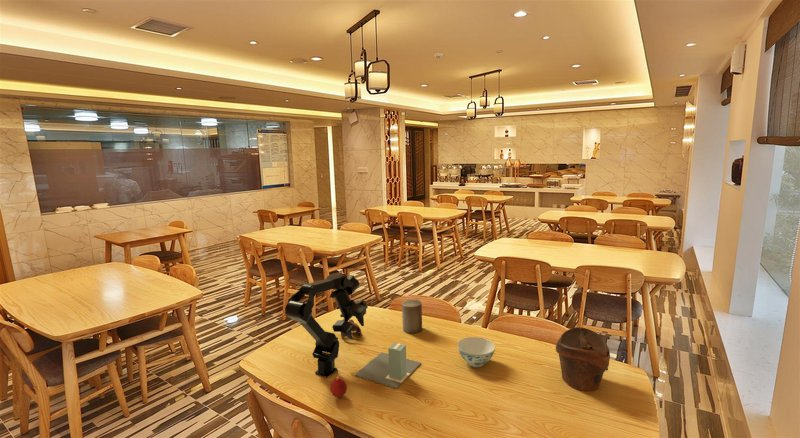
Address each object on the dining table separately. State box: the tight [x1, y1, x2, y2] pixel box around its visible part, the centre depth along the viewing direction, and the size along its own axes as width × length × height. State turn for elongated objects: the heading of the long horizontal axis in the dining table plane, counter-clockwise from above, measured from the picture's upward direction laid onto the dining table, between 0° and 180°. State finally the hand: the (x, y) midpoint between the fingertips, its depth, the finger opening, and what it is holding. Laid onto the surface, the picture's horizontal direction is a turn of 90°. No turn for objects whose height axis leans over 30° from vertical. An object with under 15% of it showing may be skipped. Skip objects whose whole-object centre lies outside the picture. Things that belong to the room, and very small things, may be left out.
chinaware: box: [457, 336, 496, 368], centre depth 162 cm, size 15×15×8 cm
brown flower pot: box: [555, 327, 611, 392], centre depth 146 cm, size 18×20×18 cm
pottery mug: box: [340, 319, 363, 338], centre depth 190 cm, size 12×10×8 cm
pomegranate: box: [329, 376, 348, 399], centre depth 140 cm, size 6×6×8 cm
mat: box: [354, 351, 422, 390], centre depth 159 cm, size 20×19×1 cm
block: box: [387, 342, 407, 380], centre depth 152 cm, size 5×5×12 cm
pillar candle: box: [401, 298, 423, 334], centre depth 194 cm, size 10×10×15 cm
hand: (357, 332), depth 169 cm, fingers open, 9 cm apart
